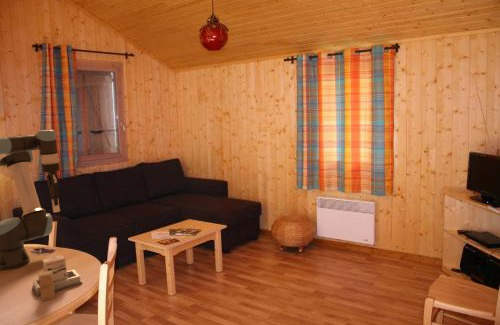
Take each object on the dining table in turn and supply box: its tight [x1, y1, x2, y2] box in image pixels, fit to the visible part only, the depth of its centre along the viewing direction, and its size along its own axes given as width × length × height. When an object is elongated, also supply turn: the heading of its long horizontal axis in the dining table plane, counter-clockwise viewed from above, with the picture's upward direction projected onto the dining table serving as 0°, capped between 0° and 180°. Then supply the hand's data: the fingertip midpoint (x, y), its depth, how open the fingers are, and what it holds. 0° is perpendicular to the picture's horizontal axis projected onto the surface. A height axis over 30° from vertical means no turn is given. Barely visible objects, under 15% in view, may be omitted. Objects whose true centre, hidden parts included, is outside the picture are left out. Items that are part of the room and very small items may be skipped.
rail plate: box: [31, 269, 83, 298], centre depth 184 cm, size 12×18×4 cm, turn 128°
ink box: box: [42, 254, 68, 282], centre depth 183 cm, size 8×5×12 cm, turn 127°
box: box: [38, 270, 56, 302], centre depth 172 cm, size 5×4×11 cm
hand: (56, 211), depth 197 cm, fingers closed
